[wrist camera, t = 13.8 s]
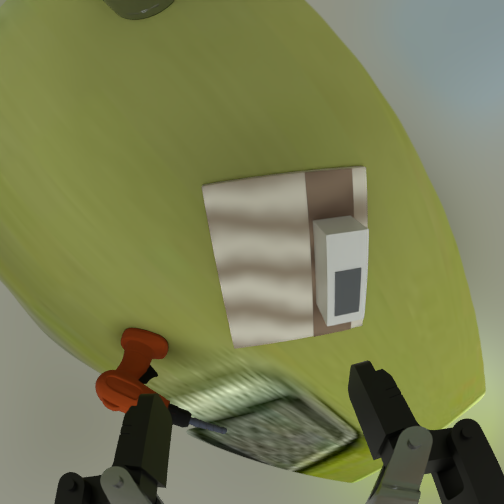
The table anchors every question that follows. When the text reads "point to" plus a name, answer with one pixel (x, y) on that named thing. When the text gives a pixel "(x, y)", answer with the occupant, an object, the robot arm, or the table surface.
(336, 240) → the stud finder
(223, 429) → the toy drill
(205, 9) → the table surface
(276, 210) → the subfloor panel
